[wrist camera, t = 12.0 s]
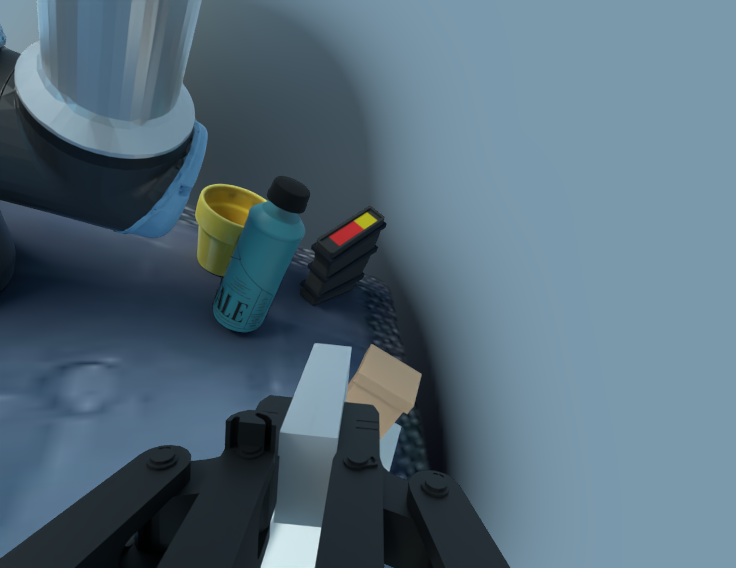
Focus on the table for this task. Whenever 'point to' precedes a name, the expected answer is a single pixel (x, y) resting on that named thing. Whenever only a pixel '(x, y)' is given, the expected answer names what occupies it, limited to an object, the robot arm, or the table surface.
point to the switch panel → (300, 543)
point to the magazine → (342, 256)
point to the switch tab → (384, 386)
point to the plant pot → (221, 223)
